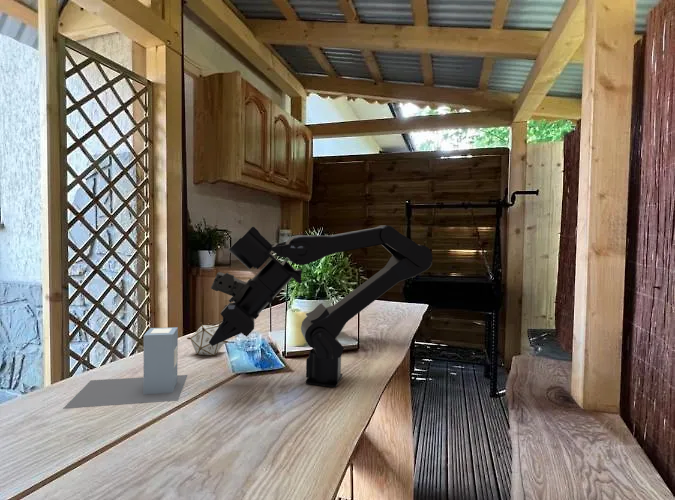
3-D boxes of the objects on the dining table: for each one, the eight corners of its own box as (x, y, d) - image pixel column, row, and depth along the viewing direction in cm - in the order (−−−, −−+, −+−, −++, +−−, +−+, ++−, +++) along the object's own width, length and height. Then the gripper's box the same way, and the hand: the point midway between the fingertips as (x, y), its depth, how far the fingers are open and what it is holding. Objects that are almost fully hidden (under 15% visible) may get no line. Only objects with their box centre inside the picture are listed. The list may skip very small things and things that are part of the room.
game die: (215, 369, 95) (240, 335, 97) (200, 368, 87) (228, 331, 89) (189, 347, 98) (214, 315, 100) (172, 345, 89) (200, 309, 91)
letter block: (177, 381, 76) (178, 326, 76) (173, 392, 72) (173, 333, 71) (150, 383, 75) (150, 327, 75) (143, 394, 70) (143, 334, 70)
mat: (187, 377, 80) (187, 374, 80) (178, 403, 69) (178, 400, 68) (90, 383, 76) (90, 380, 76) (62, 411, 64) (62, 408, 64)
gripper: (239, 255, 85) (188, 308, 83) (231, 259, 67) (166, 327, 65) (276, 289, 86) (227, 342, 85) (279, 302, 68) (216, 369, 66)
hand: (210, 344), depth 75 cm, fingers closed
